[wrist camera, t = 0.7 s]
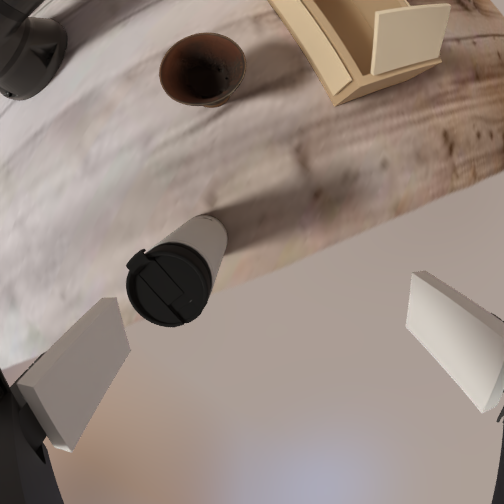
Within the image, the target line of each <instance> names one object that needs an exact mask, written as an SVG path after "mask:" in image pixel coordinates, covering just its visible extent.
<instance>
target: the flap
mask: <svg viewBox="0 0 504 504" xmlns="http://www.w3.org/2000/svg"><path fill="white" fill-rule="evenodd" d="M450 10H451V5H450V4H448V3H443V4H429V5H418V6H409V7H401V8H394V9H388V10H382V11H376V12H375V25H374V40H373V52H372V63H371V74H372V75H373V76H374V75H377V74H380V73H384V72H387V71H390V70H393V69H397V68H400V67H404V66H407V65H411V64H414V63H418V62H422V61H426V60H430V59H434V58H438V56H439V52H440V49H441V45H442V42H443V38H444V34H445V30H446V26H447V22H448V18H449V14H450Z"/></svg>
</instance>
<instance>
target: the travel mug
mask: <svg viewBox="0 0 504 504" xmlns="http://www.w3.org/2000/svg"><path fill="white" fill-rule="evenodd" d="M227 242H228V236H227V232H226V229H225V227H224V226H223V224H222V223H221V222H220V221H219V220H218V219H216V218H214V217H212V216H208V215H200V216H196V217H193V218H192V219H190V220H189V221H187V222H186V223H185V224H183V225H182V226H181V227H179V228H178V229H176V230H175V231H174V232H172V233H171V234H170V235H168V236H167V237H166V238H164V239H163V240H162V241H160V242H159V243H158V244H156V245H155V246H154V247H152V248H151V249H150V250H149V251H148V252H147V253H146V254H144V252H145V251H146V250H145V249H142V250H140V251H139V252H138V253H136V254H135V255H134V256H133V257H132V258H131V259H130V261H129V262H128V263H127V265H126V267H127V268H128V269H129V273H128V276H127V280H126V289H127V295H128V297H129V300H130V302H131V304H132V306H133V307H134V309H135V310H136V311H137V312H138V313H139V314H140V315H141V316H142V317H143V318H145V319H146V320H148V321H150V322H151V323H154V324H156V325H159V326H164V327H177V326H180V325H184V323H189V322H191V321H193V320H194V319H196V318H197V317H198V316H199V315H200V314H201V312H202V310H203V309H204V307H205V305H206V304H207V301H208V298H209V296H210V294H211V292H212V288H213V286H214V282H215V279H216V276H217V273H218V270H219V267H220V264H221V261H222V258H223V255H224V252H225V249H226V246H227Z"/></svg>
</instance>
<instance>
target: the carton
mask: <svg viewBox="0 0 504 504" xmlns="http://www.w3.org/2000/svg"><path fill="white" fill-rule="evenodd" d="M267 1H268V2H269V4H270V5H271V6H272V8H273V9H274V10H275V12H276V13H277V14H278V16H279V17H280V19H281V20H282V22H283V23H284V24H285V26H286V27H287V29H288V30H289V32H290V33H291V35H292V36H293V38H294V39H295V41H296V42H297V44H298V45H299V47H300V49H301V50H302V52H303V53H304V55H305V56H306V58H307V60H308V61H309V63H310V65H311V66H312V68H313V70H314V71H315V73H316V75H317V76H318V78H319V80H320V82H321V83H322V85H323V87H324V89H325V90H326V92H327V94H328V96H329V98H330V99H331V101H332V103H333V105H334V107H335V106H338V105H340V104H343V103H346V102H348V101H351V100H353V99H356V98H359V97H361V96H364V95H367V94H370V93H372V92H375V91H378V90H381V89H384V88H387V87H390V86H393V85H396V84H399V83H402V82H405V81H407V80H409V79H411V78H413V77H415V76H416V75H418V74H420V73H422V72H424V71H426V70H428V69H430V68H432V67H434V66H435V65H437V64H439V63H441V62H442V61H441V59H440V57H439V56H438V58H434V59H430V60H426V61H422V62H418V63H414V64H411V65H407V66H404V67H400V68H397V69H393V70H390V71H387V72H384V73H380V74H377V75H374V76H373V75H372V74H371V63H372V52H373V40H374V25H375V12H376V11H382V10H388V9H394V8H401V7H409V6H410V5H409V3H408V2H407V0H267ZM439 55H441V54H440V52H439Z"/></svg>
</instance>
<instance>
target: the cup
mask: <svg viewBox="0 0 504 504" xmlns="http://www.w3.org/2000/svg"><path fill="white" fill-rule="evenodd" d="M245 71H246V59H245V55H244V53H243V51H242V50H241V48H240V47H239V46H238V45H237V44H236V43H235V42H234V41H233V40H231V39H230V38H228V37H226V36H223V35H220V34H216V33H198V34H194V35H191V36H188V37H186V38H184V39H182V40H180V41H178V42H177V43H176V44H174V45H173V46H172V47H171V48H170V49H169V50H168V51H167V53H166V54H165V56H164V58H163V60H162V62H161V65H160V70H159V77H160V82H161V85H162V87H163V89H164V90H165V92H166V93H167V94H168V96H170V97H171V98H172V99H173V100H175V101H177V102H179V103H182V104H186V105H191V106H204V107H209V108H214V107H218V106H221V105H223V104H224V103H225V102H226V101H227V100H228V99H229V97H230V95H231V94H232V93H233V92H234V91H235V90H236V89H237V88H238V86H239V85H240V83H241V82H242V80H243V78H244V75H245Z"/></svg>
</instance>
